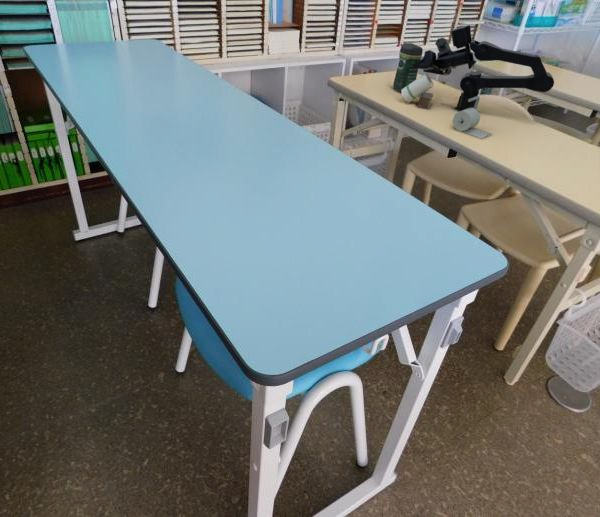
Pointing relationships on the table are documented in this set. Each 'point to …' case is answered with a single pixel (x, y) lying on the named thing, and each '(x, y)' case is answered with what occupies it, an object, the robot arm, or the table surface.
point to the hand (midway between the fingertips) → (418, 68)
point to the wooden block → (425, 100)
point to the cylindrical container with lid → (417, 87)
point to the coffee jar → (407, 65)
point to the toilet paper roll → (469, 120)
